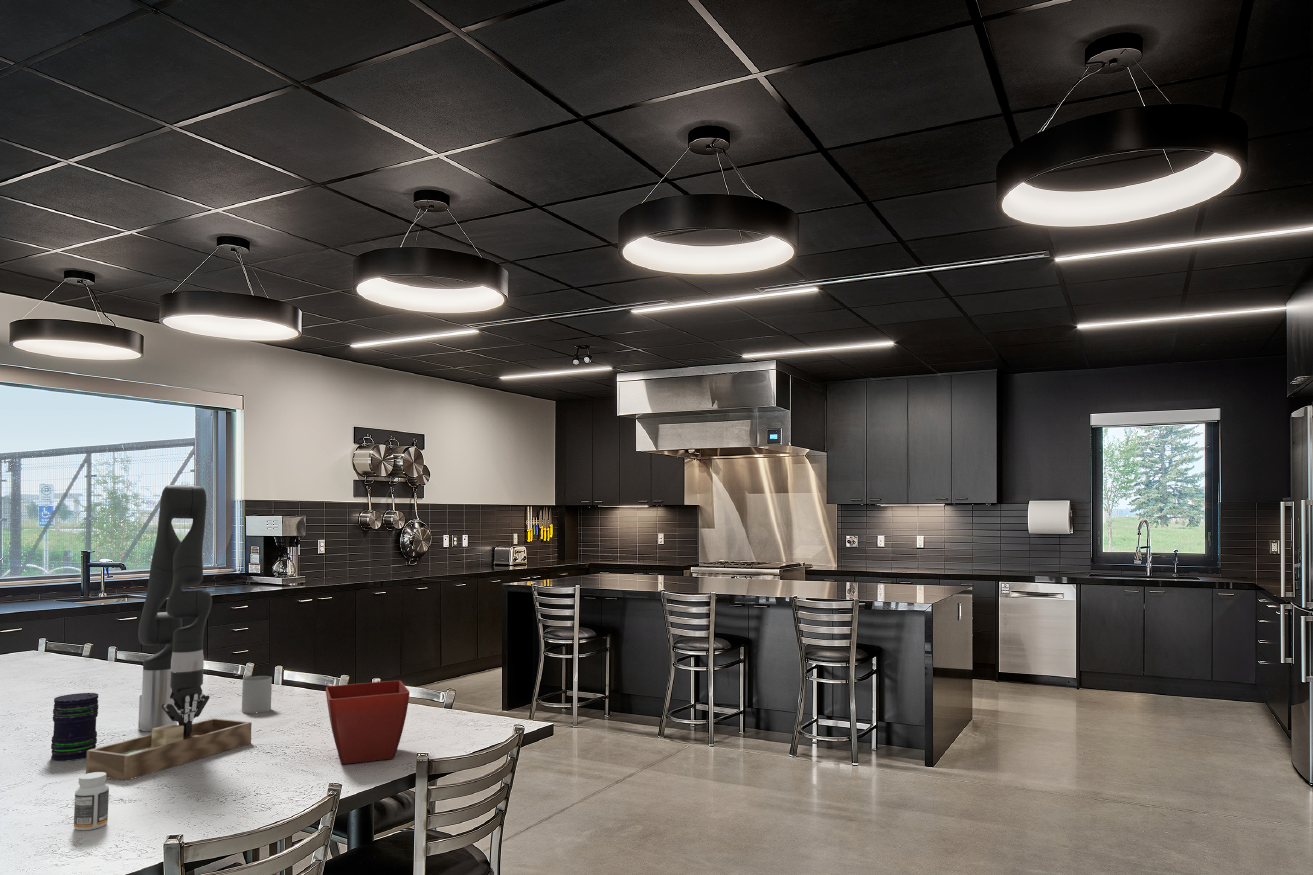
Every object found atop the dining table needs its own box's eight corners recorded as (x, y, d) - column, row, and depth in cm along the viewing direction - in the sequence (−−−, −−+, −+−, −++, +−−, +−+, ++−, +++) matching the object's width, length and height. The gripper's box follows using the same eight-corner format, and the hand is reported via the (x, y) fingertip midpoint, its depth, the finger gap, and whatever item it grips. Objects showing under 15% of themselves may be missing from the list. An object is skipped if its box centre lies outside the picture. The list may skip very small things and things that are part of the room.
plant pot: (323, 751, 230) (325, 685, 232) (399, 743, 238) (400, 679, 239) (327, 770, 213) (329, 698, 214) (409, 761, 220) (410, 692, 222)
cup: (259, 713, 274) (260, 681, 275) (235, 712, 276) (237, 680, 277) (276, 708, 282) (277, 676, 283) (253, 707, 284) (254, 675, 285)
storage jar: (47, 763, 221) (50, 702, 222) (53, 753, 229) (56, 695, 231) (94, 757, 225) (97, 698, 226) (98, 748, 234) (101, 691, 235)
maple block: (151, 748, 222) (152, 728, 222) (168, 744, 226) (169, 724, 227) (165, 750, 220) (166, 730, 220) (182, 745, 225) (183, 725, 225)
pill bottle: (99, 819, 179) (101, 769, 180) (112, 825, 176) (115, 773, 177) (68, 827, 174) (70, 776, 175) (81, 833, 171) (83, 780, 172)
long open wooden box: (212, 738, 244) (213, 718, 244) (250, 742, 239) (251, 722, 239) (85, 774, 211) (86, 750, 211) (126, 780, 206) (127, 756, 206)
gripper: (198, 663, 237) (196, 729, 235) (154, 671, 225) (151, 741, 223) (219, 664, 234) (217, 731, 233) (175, 673, 222) (172, 744, 220)
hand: (184, 736), depth 228 cm, fingers closed
